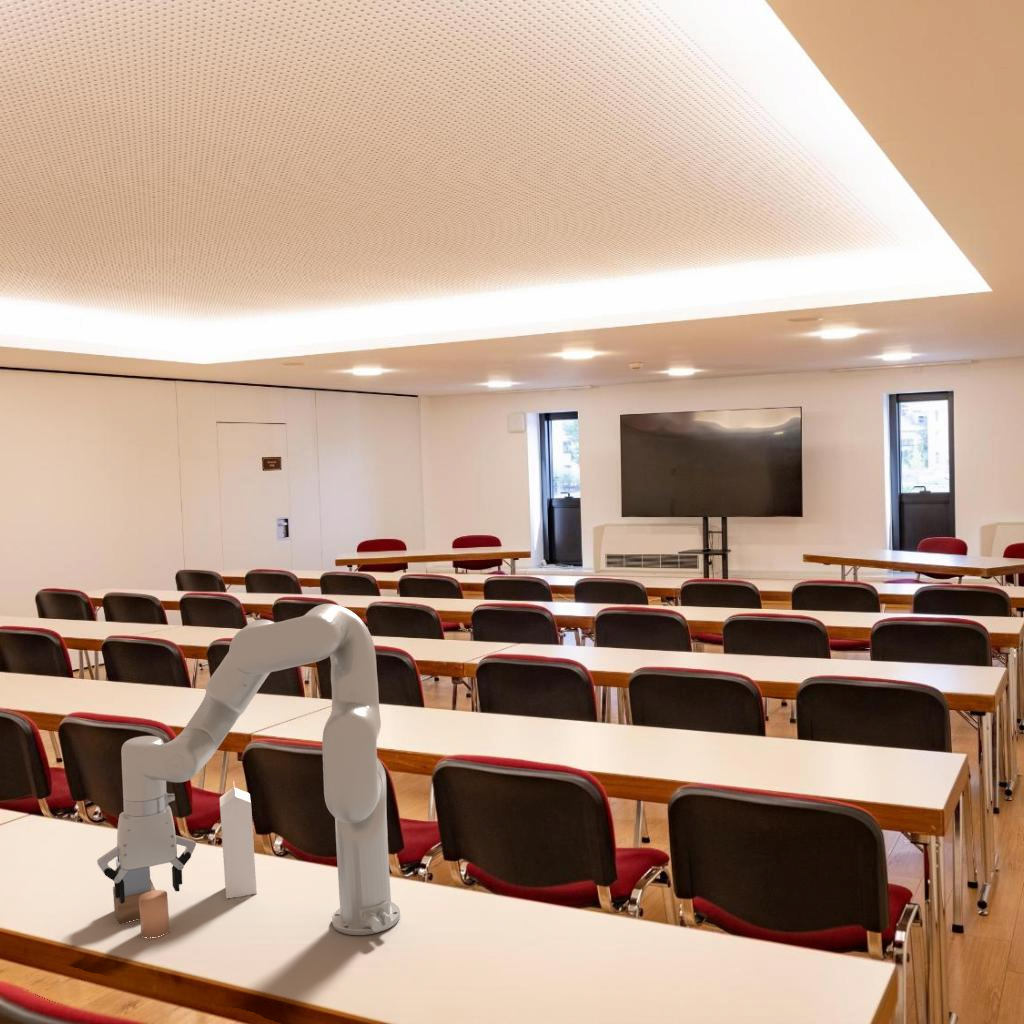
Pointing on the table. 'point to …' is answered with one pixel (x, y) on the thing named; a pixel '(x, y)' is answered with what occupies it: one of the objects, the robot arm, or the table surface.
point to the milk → (238, 843)
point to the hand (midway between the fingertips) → (149, 894)
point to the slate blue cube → (136, 880)
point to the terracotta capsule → (154, 913)
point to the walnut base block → (128, 907)
